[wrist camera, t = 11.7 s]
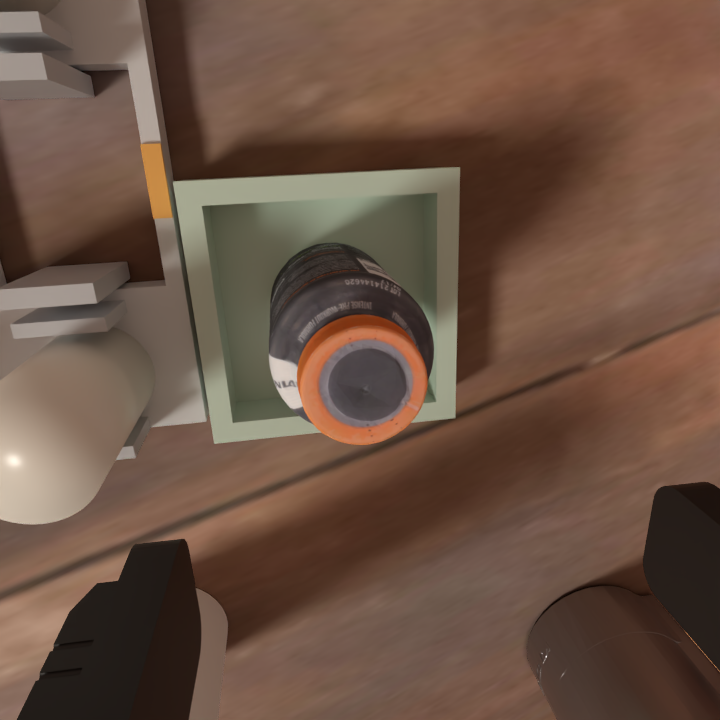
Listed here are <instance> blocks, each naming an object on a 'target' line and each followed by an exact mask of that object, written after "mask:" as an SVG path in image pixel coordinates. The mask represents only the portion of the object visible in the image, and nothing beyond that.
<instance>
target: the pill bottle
mask: <svg viewBox="0 0 720 720" xmlns="http://www.w3.org/2000/svg"><path fill="white" fill-rule="evenodd" d="M269 328H270V330H269V364H270V370H271V374H272V377H273V381H274V383H275V386H276V388H277V390H278V392H279V394H280V395H281V397H282V398H283V400H284V401H285V402H286V403H287V405H288V406H289V407H290V408H291V409H292V410H293V411H294V412H295V413H296V414H297V415H299V416H300V417H301V418H303V419H304V420H306V421H308V422H309V423H311V424H313V425H314V426H315V427H316V428H317V429H318V430H319V431H321V432H322V433H323V434H325V435H327V436H329V437H330V438H332V439H334V440H336V441H340V442H343V443H347V444H356V445H367V444H373V443H377V442H381V441H384V440H386V439H388V438H390V437H393V436H394V435H396V434H398V433H399V432H401V431H402V430H404V429H405V428H406V427H407V426H408V425H409V424H410V423H411V422H412V421H413V420H414V419H415V417H416V416H417V414H418V413H419V411H420V409H421V407H422V405H423V403H424V400H425V396H426V392H427V386H428V379H429V377H430V374H431V370H432V366H433V359H434V342H433V336H432V331H431V328H430V325H429V322H428V320H427V318H426V316H425V314H424V312H423V310H422V309H421V307H420V306H419V304H418V303H417V302H416V301H415V300H414V299H413V298H412V297H411V296H410V294H409V293H407V292H406V291H405V290H404V289H403V288H402V287H401V286H400V285H399V284H398V283H397V282H396V281H395V280H394V279H393V278H392V277H391V276H390V275H389V274H388V273H387V272H386V271H385V270H384V269H383V268H382V267H381V266H380V265H379V264H378V263H377V262H376V261H375V260H374V259H373V258H372V257H370V256H369V255H368V254H366V253H365V252H363V251H361V250H360V249H357V248H355V247H353V246H350V245H347V244H342V243H322V244H316V245H313V246H310V247H308V248H306V249H303V250H301V251H300V252H298V253H297V254H295V255H294V256H293V257H291V258H290V259H289V260H288V262H287V263H286V264H285V265H284V266H283V268H282V269H281V270H280V272H279V273H278V275H277V277H276V279H275V281H274V284H273V287H272V292H271V299H270V327H269Z"/></svg>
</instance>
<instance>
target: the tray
mask: <svg viewBox="0 0 720 720" xmlns="http://www.w3.org/2000/svg"><path fill="white" fill-rule="evenodd" d="M173 186H174V192H175V199H176V205H177V211H178V218H179V224H180V230H181V236H182V243H183V249H184V255H185V262H186V268H187V274H188V281H189V287H190V293H191V300H192V306H193V312H194V319H195V325H196V331H197V338H198V344H199V350H200V356H201V363H202V369H203V375H204V382H205V388H206V394H207V401H208V407H209V413H210V420H211V426H212V432H213V439H214V444H216V443H226V442H235V441H244V440H254V439H263V438H272V437H282V436H291V435H301V434H310V433H319V432H321V431H319V430H318V429H317V428H316V427H315V426H314V425H313V424H311V423H309V422H308V421H306V420H304V419H303V418H301V417H300V416H299V415H297V414H296V413H295V412H294V411H293V410H292V409H291V408H290V407H289V406H288V405H287V403H286V402H285V401H284V400H283V398H282V397H281V395H280V394H279V392H278V390H277V388H276V386H275V383H274V381H273V377H272V374H271V370H270V364H269V330H270V328H269V327H270V299H271V292H272V287H273V284H274V281H275V279H276V277H277V275H278V273H279V272H280V270H281V269H282V268H283V266H284V265H285V264H286V263H287V262H288V260H289V259H290V258H291V257H293V256H294V255H295V254H297V253H298V252H300V251H301V250H303V249H306V248H308V247H310V246H313V245H316V244H322V243H342V244H347V245H350V246H353V247H355V248H357V249H360V250H361V251H363V252H365V253H366V254H368V255H369V256H370V257H372V258H373V259H374V260H375V261H376V262H377V263H378V264H379V265H380V266H381V267H382V268H383V269H384V270H385V271H386V272H387V273H388V274H389V275H390V276H391V277H392V278H393V279H394V280H395V281H396V282H397V283H398V284H399V285H400V286H401V287H402V288H403V289H404V290H405V291H406V292H407V293H409V294H410V296H411V297H412V298H413V299H414V300H415V301H416V302H417V303H418V304H419V306H420V307H421V309H422V310H423V312H424V314H425V316H426V318H427V320H428V322H429V325H430V328H431V331H432V336H433V342H434V359H433V366H432V370H431V374H430V377H429V379H428V386H427V392H426V396H425V400H424V403H423V405H422V407H421V409H420V411H419V413H418V414H417V416H416V417H415V419H414V420H413V421H412V422H411V423H413V422H423V421H432V420H441V419H451V418H455V410H456V358H457V306H458V254H459V202H460V167H433V168H413V169H393V170H372V171H352V172H332V173H312V174H292V175H272V176H252V177H232V178H212V179H192V180H180V181H174V182H173Z"/></svg>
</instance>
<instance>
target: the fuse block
mask: <svg viewBox="0 0 720 720" xmlns="http://www.w3.org/2000/svg"><path fill="white" fill-rule="evenodd" d="M101 70H129V76H130V81H131V87H132V93H133V99H134V104H135V110H136V116H137V122H138V127H139V133H140V139H141V144H140V146H141V151H142V157H143V163H144V168H145V174H146V180H147V186H148V191H149V197H150V203H151V209H152V214H153V219H154V220H155V225H156V231H157V237H158V243H159V248H160V254H161V260H162V266H163V271H164V277H165V280H158V281H143V282H129V283H125V282H126V281H127V280H129V279H130V273H129V268H128V263H127V261H126V262H111V263H96V264H81V265H66V266H51V267H45V268H43V269H40V270H38V271H36V272H33V273H31V274H29V275H26V276H24V277H22V278H19V279H17V280H15V281H13V282H10V283H8V284H7V283H6V279H5V275H4V272H3V268H2V265H1V261H0V519H1V520H5V521H9V522H13V523H20V524H45V523H51V522H55V521H59V520H62V519H65V518H67V517H70V516H72V515H74V514H75V513H77V512H79V511H80V510H82V509H83V508H84V507H85V506H87V505H88V504H89V503H90V502H91V501H92V499H93V498H94V497H95V495H96V494H97V492H98V491H99V489H100V487H101V485H102V483H103V482H104V480H105V478H106V476H107V474H108V473H109V471H110V469H111V467H112V466H113V464H114V462H115V460H121V459H130V458H136V456H137V454H138V452H139V450H140V448H141V446H142V444H143V442H144V440H145V438H146V436H147V434H148V432H149V430H150V428H151V427H158V426H168V425H178V424H187V423H197V422H206V421H207V417H208V414H209V407H208V401H207V394H206V388H205V382H204V375H203V369H202V363H201V356H200V350H199V344H198V338H197V331H196V325H195V319H194V312H193V306H192V300H191V293H190V287H189V281H188V274H187V268H186V262H185V255H184V249H183V243H182V236H181V230H180V224H179V218H178V211H177V205H176V199H175V192H174V186H173V182H174V179H173V172H172V166H171V160H170V153H169V147H168V141H167V134H166V128H165V122H164V115H163V109H162V103H161V96H160V90H159V84H158V77H157V71H156V64H155V58H154V52H153V45H152V39H151V33H150V26H149V20H148V14H147V7H146V1H145V0H0V99H3V100H22V99H53V98H85V97H95V95H94V90H93V85H92V80H91V76H89V75H87V74H85V73H83V72H81V71H101Z"/></svg>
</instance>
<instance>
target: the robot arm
mask: <svg viewBox="0 0 720 720" xmlns="http://www.w3.org/2000/svg"><path fill="white" fill-rule="evenodd" d="M643 567H644V573H645V576H646V580H647V582H648V584H649V587H650V588H651V590H652V592H653V594H654V595H655V596H656V598H657V599H658V600H659V601H660V602H661V603H662V605H663V606H664V607H665V608H666V609H667V610H668V612H669V613H670V614H671V615H672V616H673V617H674V619H675V620H676V621H677V622H678V623H679V624H680V625H681V627H682V628H683V629H684V630H685V631H686V632H687V633H688V635H689V636H690V637H691V638H692V639H693V641H694V642H695V643H696V644H697V645H698V646H699V647H700V649H701V650H702V651H703V652H704V653H705V654H706V656H707V657H708V658H709V659H710V660H711V661H712V663H713V664H714V665H715V666H716V667H717V668H718V670H719V671H720V489H719V488H718V487H716V486H715V485H713V484H711V483H708V482H698V483H689V484H680V485H671V486H663V487H661V488H659V489H658V490H657V492H656V494H655V496H654V500H653V505H652V511H651V516H650V522H649V528H648V533H647V539H646V545H645V550H644V556H643ZM656 598H655V597H654V596H653V595H646V596H639V595H636V594H634V593H632V592H631V591H629V590H627V589H624V588H620V587H616V586H597V587H590V588H586V589H583V590H580V591H577V592H574V593H572V594H570V595H568V596H566V597H564V598H562V599H561V600H559V601H558V602H557V603H555V604H554V605H552V606H551V607H550V608H549V609H548V610H547V611H546V612H545V613H544V614H543V615H542V616H541V617H540V618H539V620H538V621H537V622H536V624H535V625H534V627H533V629H532V631H531V633H530V635H529V638H528V643H527V659H528V661H529V664H530V667H531V669H532V671H533V673H534V675H535V677H536V679H537V681H538V684H539V686H540V688H541V690H542V692H543V694H544V696H545V697H546V699H547V701H548V703H549V705H550V707H551V709H552V711H553V713H554V715H555V717H556V719H557V720H720V672H719V671H718V670H717V668H716V667H715V666H714V665H713V664H712V663H711V662H710V660H709V659H708V658H707V657H706V656H705V655H704V653H703V652H702V651H701V650H700V649H699V648H698V646H697V645H696V644H695V643H694V642H693V641H692V640H691V638H690V637H689V636H688V635H687V634H686V633H685V632H684V630H683V629H682V628H681V627H680V626H679V625H678V623H677V622H676V621H675V620H674V619H673V618H672V617H671V615H670V614H669V613H668V612H667V611H666V610H665V609H664V607H663V606H662V605H661V604H660V603H659V602H658V601H657V599H656ZM200 651H201V616H200V609H199V604H198V598H197V592H196V587H195V581H194V576H193V570H192V565H191V559H190V554H189V549H188V545H187V542H186V541H185V539H178V540H169V541H160V542H151V543H143V544H135V545H134V546H133V547H132V549H131V551H130V553H129V556H128V558H127V560H126V563H125V565H124V568H123V570H122V573H121V575H120V578H119V580H118V581H113V582H105V583H97V584H96V585H95V586H94V587H93V588H92V589H91V590H90V591H89V592H88V593H87V594H86V596H85V597H84V598H83V599H82V600H81V601H80V602H79V603H78V604H77V605H76V606H75V607H74V608H73V609H72V610H71V611H70V612H69V614H68V616H67V618H66V620H65V622H64V624H63V626H62V628H61V631H60V633H59V635H58V637H57V639H56V641H55V643H54V649H53V651H51V652H50V653H49V655H48V657H47V659H46V661H45V663H44V665H43V667H42V669H41V671H40V678H39V681H36V682H35V684H34V686H33V688H32V690H31V692H30V694H29V696H28V698H27V700H26V702H25V704H24V706H23V708H22V710H21V712H20V714H19V716H18V718H17V720H189V715H190V709H191V704H192V698H193V693H194V687H195V681H196V676H197V670H198V664H199V659H200Z"/></svg>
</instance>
